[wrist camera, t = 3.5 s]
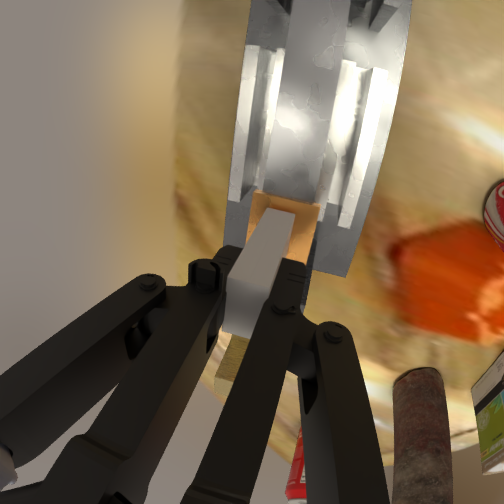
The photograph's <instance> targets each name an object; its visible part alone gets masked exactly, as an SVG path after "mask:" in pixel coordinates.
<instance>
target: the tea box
mask: <svg viewBox="0 0 504 504" xmlns="http://www.w3.org/2000/svg"><path fill="white" fill-rule="evenodd" d="M471 393H472V398H473V404H474V410H475V416H476V422H477V428H478V436H479V444H480V451H481V462H482V474H483V475H489V474H495V473H500V472H504V352H503V353H502V354H501V355H500V356H499V358H498V359H497V360H496V361H495V362H494V364H493V365H492V366H491V367H490V368H489V369H488V371H487V372H486V373H485V374H484V375H483V376H482V377H481V379H480V380H479V381H478V382H477V383H476V384H475V385H474V386H473V388H472V390H471Z"/></svg>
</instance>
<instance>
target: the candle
mask: <svg viewBox="0 0 504 504" xmlns="http://www.w3.org/2000/svg"><path fill="white" fill-rule="evenodd" d="M393 416H394V475H393V494H392V504H453V477H452V455H451V442H450V430H449V419H448V410H447V403H446V396H445V390H444V384H443V380H442V377H441V376H440V375H439V373H438V372H437V371H436V370H435V369H432V368H425V369H422V370H415V371H412V372H410V373H409V374H408V375H407V376H406V377H404V378H402V379H401V380H400V381H398V382H397V383H396V384H395V386H394V388H393Z"/></svg>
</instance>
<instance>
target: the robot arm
mask: <svg viewBox="0 0 504 504" xmlns="http://www.w3.org/2000/svg"><path fill="white" fill-rule="evenodd" d="M294 219H295V214H293V213H289V212H285V211H280V210H276V209H272V208H267V209H266V210H265V212H264V214H263V216H262V217H261V219H260V221H259V222H258V224H257V226H256V228H255V229H254V231H253V233H252V235H251V236H250V238H249V240H248V242H247V243H246V245H245V247H244V248H240V247H236V246H232V245H226V246H224V247H222V248H220V249H219V250H218V252H217V253H216V255H215V256H214V258H213V259H197V260H194V261H192V262H191V263H190V264H189V266H188V284H187V285H186V286H166V282H165V280H164V279H163V278H162V277H161V276H159V275H156V274H143V275H140V276H138V277H136V278H135V279H133V280H131V281H130V282H129V283H127V284H125V285H124V286H123V287H121V288H120V289H118V290H117V291H115V292H114V293H112V294H111V295H109V296H108V297H107V298H105V299H104V300H102V301H101V302H99V303H98V304H97V305H95V306H94V307H92V308H91V309H90V310H88V311H87V312H85V313H84V314H82V315H81V316H80V317H78V318H77V319H75V320H74V321H73V322H71V323H70V324H68V325H67V326H66V327H64V328H63V329H61V330H60V331H59V332H58V333H56V334H55V335H53V336H52V337H50V338H49V339H48V340H46V341H45V342H44V343H42V344H41V345H40V346H38V347H37V348H36V349H34V350H33V351H32V352H30V353H29V354H28V355H26V356H25V357H24V358H23V359H21V360H20V361H18V362H17V363H16V364H14V365H13V366H12V367H11V368H9V369H8V370H7V371H5V372H4V373H3V374H2V375H0V504H144V502H145V499H146V496H147V492H148V485H149V482H150V480H151V478H152V476H153V474H154V472H155V470H156V468H157V466H158V464H159V461H160V459H161V457H162V455H163V453H164V451H165V449H166V447H167V445H168V443H169V441H170V439H171V437H172V435H173V433H174V430H175V428H176V426H177V424H178V422H179V420H180V418H181V416H182V414H183V412H184V410H185V408H186V405H187V403H188V401H189V399H190V397H191V395H192V393H193V391H194V389H195V387H196V385H197V383H198V380H199V378H200V376H201V374H202V372H203V370H204V368H205V366H206V364H207V362H208V359H209V357H210V355H211V353H212V351H213V349H214V347H215V345H216V343H217V340H218V334H219V329H220V327H221V325H222V331H224V332H227V333H230V334H234V335H237V336H241V337H244V338H248V339H250V341H249V343H248V346H247V349H246V351H245V354H244V356H243V359H242V362H241V364H240V367H239V369H238V372H237V375H236V377H235V380H234V382H233V385H232V387H231V390H230V392H229V395H228V397H227V400H226V402H225V405H224V407H223V410H222V412H221V415H220V417H219V420H218V422H217V425H216V427H215V430H214V432H213V435H212V437H211V440H210V442H209V444H208V447H207V449H206V452H205V454H204V457H203V459H202V461H201V464H200V466H199V468H198V471H197V473H196V476H195V478H194V480H193V482H192V484H191V485H190V486H189V487H188V489H187V490H186V492H185V494H184V496H183V498H182V500H181V502H180V504H249V503H250V498H251V495H252V492H253V489H254V485H255V482H256V479H257V476H258V472H259V469H260V466H261V463H262V459H263V456H264V452H265V449H266V446H267V442H268V439H269V435H270V431H271V428H272V424H273V420H274V417H275V413H276V409H277V406H278V402H279V398H280V394H281V390H282V386H283V382H284V378H285V374H286V370H288V371H289V372H291V373H293V374H295V375H297V376H298V378H297V380H298V391H299V402H300V414H301V426H302V439H303V452H304V467H305V482H306V499H307V504H390V501H389V495H388V490H387V484H386V478H385V473H384V467H383V462H382V457H381V452H380V447H379V443H378V438H377V433H376V429H375V424H374V420H373V415H372V411H371V407H370V403H369V398H368V394H367V390H366V386H365V382H364V378H363V375H362V371H361V367H360V363H359V359H358V356H357V352H356V348H355V345H354V341H353V338H352V335H351V333H350V331H349V330H348V329H347V328H346V327H345V326H343V325H341V324H339V323H337V322H332V321H328V322H323V323H321V324H319V325H316V324H314V323H312V322H311V321H309V320H308V319H307V318H306V317H305V316H304V315H303V314H302V312H301V309H300V304H301V299H302V294H303V289H304V285H305V280H306V274H307V268H306V266H305V264H304V263H303V262H299V261H295V260H291V259H287V258H286V256H287V251H288V247H289V242H290V237H291V233H292V228H293V224H294ZM222 323H223V324H222ZM118 383H119V384H118ZM117 384H118V386H117V387H116V388H115V390H114V391H113V393H112V395H111V396H110V398H109V399H108V401H107V402H106V404H105V405H104V407H103V408H102V410H101V411H100V413H99V414H98V416H97V418H96V419H95V421H94V422H93V424H92V425H91V427H90V429H89V430H88V431H87V432H86V433H85V434H82V435H76V436H74V437H73V438H71V439H70V441H69V442H68V443H67V444H66V446H65V447H64V449H63V451H62V452H61V454H60V455H59V457H58V458H57V460H56V462H55V463H54V465H53V467H52V468H51V469H50V471H49V473H48V474H47V476H46V478H45V479H44V480H43V481H40V482H36V483H33V484H30V485H26V486H22V487H19V488H14V489H11V490H6V491H2V492H1V490H2V489H3V488H4V487H5V486H6V485H8V484H14V483H15V482H16V481H17V478H18V477H17V473H16V471H15V469H16V468H18V467H20V466H23V465H24V464H26V463H28V462H30V461H31V460H33V459H34V458H36V457H37V456H38V455H40V454H41V453H42V452H43V451H44V450H46V449H47V448H48V447H49V446H50V445H51V444H52V443H53V442H54V441H56V440H57V439H58V438H59V437H60V436H61V435H62V434H63V433H64V432H66V431H67V430H68V429H69V428H70V427H71V426H72V425H73V424H74V423H75V422H77V421H78V420H79V419H80V418H81V417H82V416H83V415H84V414H85V413H86V412H87V411H89V410H90V409H91V408H92V407H93V406H94V405H95V404H96V403H97V402H99V401H100V400H101V399H102V398H103V397H104V396H105V395H106V394H107V393H108V392H110V391H111V390H112V389H113V388H114V387H115V386H116V385H117Z"/></svg>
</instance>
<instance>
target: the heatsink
mask: <svg viewBox="0 0 504 504" xmlns="http://www.w3.org/2000/svg"><path fill="white" fill-rule="evenodd" d="M292 6H293V0H252V1H251V8H250V15H249V22H248V29H247V36H246V43H245V51H244V58H243V66H242V73H241V81H240V89H239V97H238V106H237V114H236V123H235V131H234V140H233V149H232V159H231V168H230V178H229V188H228V198H227V208H226V219H225V230H224V241H223V247H224V246H226V245H232V246H236V247H240V248H244V247H245V243H246V237H247V230H248V223H249V217H250V210H251V204H252V197H253V192H254V191H255V190H256V189H258V190H262V189H263V183H264V177H265V171H266V165H267V159H268V153H269V147H270V140H271V134H272V128H273V122H274V116H275V110H276V104H277V98H278V92H279V86H280V80H281V73H282V67H283V61H284V55H285V49H286V43H287V37H288V31H289V25H290V19H291V12H292ZM411 6H412V0H351V2H350V9H349V16H348V23H347V30H346V37H345V43H344V49H343V56H342V62H341V68H340V74H339V79H338V85H337V91H336V96H335V101H334V107H333V112H332V117H331V123H330V128H329V133H328V138H327V143H326V148H325V152H324V157H323V162H322V167H321V171H320V176H319V181H318V185H317V190H316V194H315V199H314V202H315V203H319V204H321V207H320V211H319V215H318V219H317V223H316V228H315V232H314V236H313V240H312V243H311V247H310V251H309V255H308V259H307V263H306V268H307V274H306V280H305V285H304V289H303V294H302V299H301V304H300V309H301V312H302V314H303V312H304V308H305V305H306V300H307V295H308V290H309V284H310V279H311V274H312V269H313V270H317V271H321V272H325V273H329V274H333V275H337V276H341V277H345V278H346V275H347V272H348V269H349V266H350V263H351V261H352V258H353V255H354V252H355V249H356V246H357V243H358V240H359V237H360V234H361V231H362V228H363V225H364V221H365V218H366V215H367V212H368V208H369V205H370V202H371V198H372V195H373V192H374V188H375V185H376V181H377V177H378V174H379V170H380V166H381V163H382V159H383V155H384V151H385V147H386V143H387V139H388V135H389V131H390V127H391V122H392V118H393V113H394V109H395V104H396V99H397V94H398V89H399V84H400V79H401V74H402V68H403V62H404V57H405V50H406V44H407V37H408V30H409V23H410V15H411Z"/></svg>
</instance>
